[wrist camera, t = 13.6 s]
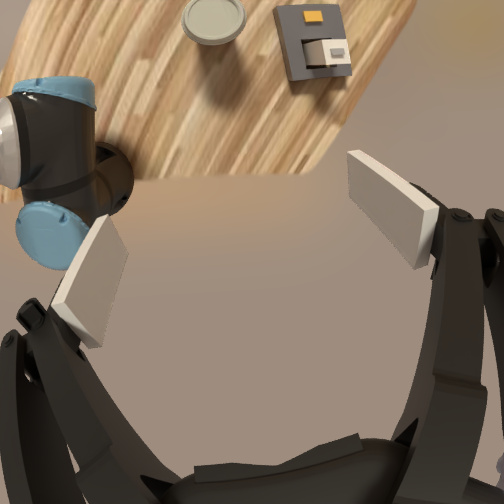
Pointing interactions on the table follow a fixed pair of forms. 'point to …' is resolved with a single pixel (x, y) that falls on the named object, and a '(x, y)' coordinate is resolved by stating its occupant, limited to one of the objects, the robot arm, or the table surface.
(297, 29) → the grey charger dock
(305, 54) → the block
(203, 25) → the coffee cup
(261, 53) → the table surface
